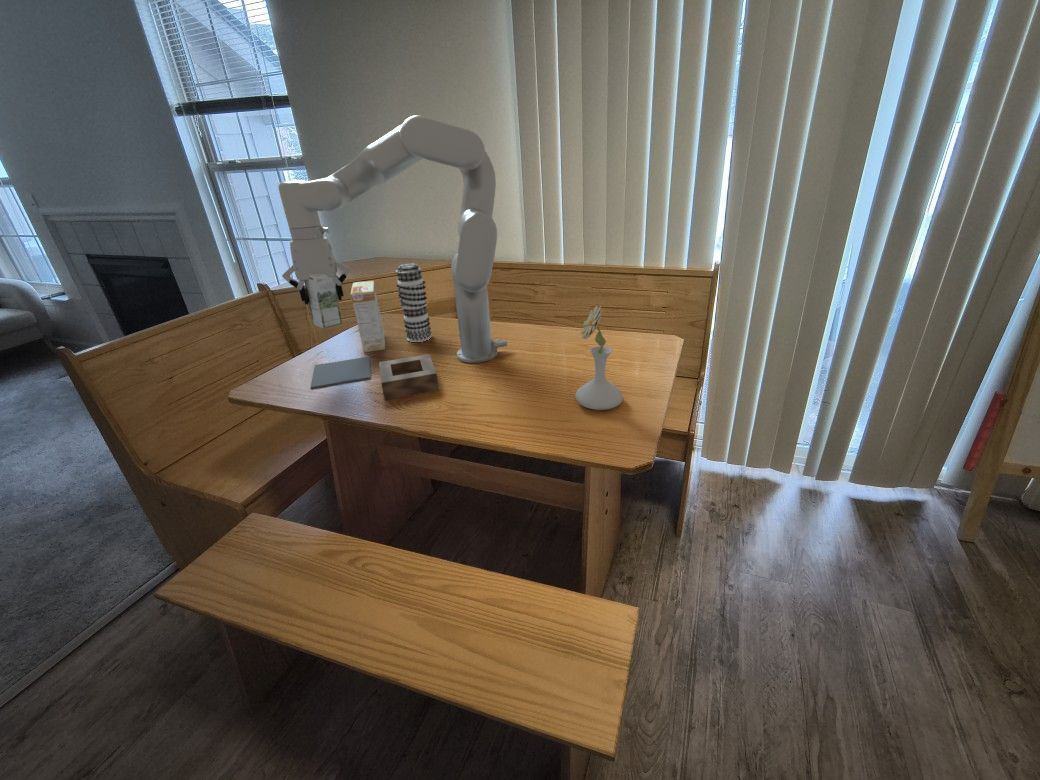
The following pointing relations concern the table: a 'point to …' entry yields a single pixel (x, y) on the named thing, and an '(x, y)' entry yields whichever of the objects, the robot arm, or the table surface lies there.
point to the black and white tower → (413, 302)
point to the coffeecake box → (368, 316)
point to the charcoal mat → (341, 372)
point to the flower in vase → (598, 371)
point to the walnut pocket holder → (408, 376)
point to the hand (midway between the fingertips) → (323, 300)
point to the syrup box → (323, 300)
